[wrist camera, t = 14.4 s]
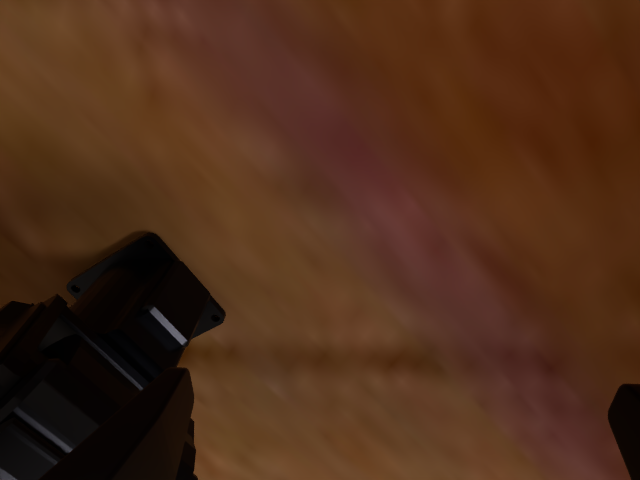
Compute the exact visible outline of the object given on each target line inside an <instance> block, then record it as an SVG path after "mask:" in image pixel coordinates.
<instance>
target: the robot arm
mask: <svg viewBox="0 0 640 480" xmlns="http://www.w3.org/2000/svg"><path fill="white" fill-rule="evenodd" d="M147 240H149V241H152V242H153V244H154V245H150V244H149V243H148V242H147ZM76 286H78V287H79V288H78V287H76ZM67 290H68V291H69V293H70V294H71V295H73V296H74V297H75V298H76V299H77V301H76V302H75V303H74V304H73V305H72V306H71V307H70V308H68V307H67V306H66V305H67V302H66V301H65V300H64V299H63V298H61V297H60V296H59V295H58V294H56V295H55V296H53V297H51V298H50V299H48V300H47V301H45V302H43V303H42V302H40V303H38V304H36V305H34V304H33V303H32V304H25V303H20V302H16V301H11V302H9V303H8V304H6V305H5V306H3V307H2V308H1V309H0V480H198V478H197V476H196V475H195V474H194V473H193V472H194V465H195V454H196V449H195V446H194V421H193V420H192V419H191V418H190V417H191V413H192V409H193V404H194V392H193V387H192V382H191V377H190V372H189V370H188V369H187V368H181V367H177V365H178V363H179V361H180V359H181V357H182V354H183V352H184V350H185V348H186V347H187V346H188V345H189V343H190V341H191V339H192V338H194V337H196V336H198V335H200V334H202V333H204V332H206V331H208V330H210V329H212V328H214V327H216V326H218V325H220V324H222V323H223V321H224V319H225V316H226V313H225V311H224V310H223V309H222V308H221V306H220V305H219V304H218V303H217V302H216V301H215V300H214V298H213V297H212V296H211V295H210V293H209V291H208V290H207V289H206V288H205V287H204V286H203V285H202V283H201V282H200V281H199V280H198V279H197V278H196V277H195V275H194V274H193V273H192V272H191V271H190V270H189V269H188V267H187V266H186V265H185V264H184V263H183V262H182V261H180V260H179V259H178V258H177V256H176V255H175V254H174V253H173V252H172V251H171V250H170V248H169V247H168V246H167V245H166V244H165V243H164V242H163V240H162V239H161V238H160V237H159V236H158V235H156V234H154V233H146V234H144V235H143V236H141V237H139V238H138V239H136V240H134V241H133V242H131V243H130V244H128V245H126V246H125V247H123V248H121V249H120V250H118V251H117V252H115V253H113V254H112V255H110V256H109V257H107V258H105V259H104V260H102V261H100V262H99V263H97V264H96V265H94V266H92V267H91V268H89V269H87V270H86V271H84V272H83V273H81V274H79V275H78V276H76V277H74V278H73V279H72V280H71V281H70V282H69V283H68V284H67ZM214 315H218V316H219V317H215V316H214ZM608 420H609V424H610V427H611V429H612V432H613V434H614V437H615V439H616V442H617V444H618V447H619V449H620V452H621V455H622V457H623V460H624V462H625V465H626V467H627V470H628V472H629V475H630V477H631V480H640V384H622V385H621V386H620V387H619V388H618V390H617V393H616V395H615V397H614V399H613V401H612V403H611V405H610V408H609V410H608Z"/></svg>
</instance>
